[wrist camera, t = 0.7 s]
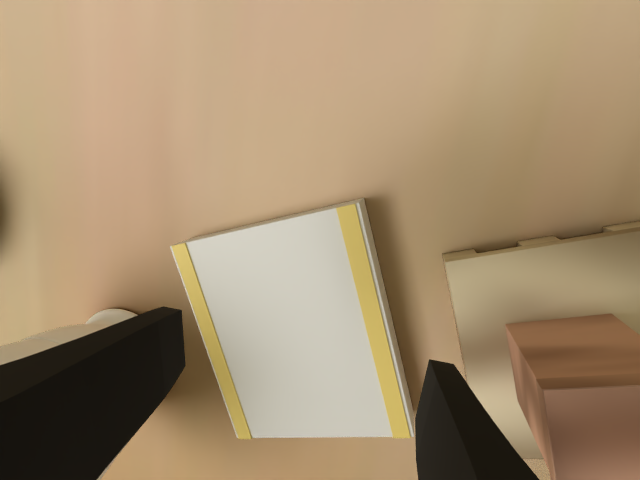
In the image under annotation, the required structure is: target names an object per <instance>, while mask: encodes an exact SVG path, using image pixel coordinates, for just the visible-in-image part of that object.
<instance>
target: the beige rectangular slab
mask: <svg viewBox="0 0 640 480" xmlns="http://www.w3.org/2000/svg"><path fill="white" fill-rule="evenodd" d="M517 245H518V247H513V248H507V249H501V250H495V251H489V252H483V253H476V252H475V250H474V249H469V250H463V251H457V252H451V253H445V254H442V256H443V261H444V266H445V271H446V276H447V281H448V287H449V292H450V297H451V302H452V307H453V312H454V317H455V323H456V328H457V333H458V338H459V343H460V348H461V354H462V359H463V364H464V369H465V374H466V379H467V384H468V385H469V387H470V388H471V390H472V391H473V393H474V394H475V396H476V397H477V398H478V400H479V401H480V403H481V404H482V406H483V407H484V408H485V410H486V411H487V413H488V414H489V415H490V417H491V418H492V420H493V421H494V422H495V424H496V425H497V426H498V428H499V429H500V430H501V432H502V433H503V434H504V436H505V437H506V438H507V440H508V441H509V442H510V444H511V445H512V446H513V448H514V449H515V450H516V452H517V453H518V454H519V455H520V457H521V458H522V459H544V458H543V456H542V454H541V452H540V449H539V447H538V445H537V443H536V441H535V438H534V436H533V434H532V432H531V429H530V427H529V425H528V423H527V420H526V418H525V416H524V414H523V412H522V409H521V407H520V405H519V403H518V400H517V394H516V388H515V382H514V376H513V370H512V364H511V358H510V352H509V346H508V340H507V333H506V327H505V324H511V323H521V322H531V321H541V320H551V319H561V318H571V317H581V316H590V315H600V314H610V313H612V314H613V315H614V316H616V317H617V318H618V319H619V320H621V321H622V322H623V323H625V324H626V325H627V326H629V327H630V328H631V329H632V330H634V331H635V332H636V333H638V334H639V335H640V221H635V222H629V223H623V224H617V225H611V226H606V227H603V233H598V234H592V235H586V236H580V237H574V238H568V239H562V240H560V239H558V238H556V237H555V236H553V235H552V236H546V237H540V238H534V239H528V240H522V241H517Z"/></svg>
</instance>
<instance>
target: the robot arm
mask: <svg viewBox="0 0 640 480" xmlns="http://www.w3.org/2000/svg"><path fill="white" fill-rule="evenodd" d="M184 367H185V353H184V339H183V325H182V310H178V309H173V308H168V307H161V308H157V309H154V310H151V311H148V312H145V313H143V314H140V315H137V316H135V317H132V318H129V319H127V320H124V321H122V322H119V323H116V324H114V325H111V326H109V327H106V328H103V329H101V330H98V331H96V332H93V333H91V334H88V335H85V336H83V337H80V338H78V339H75V340H72V341H69V342H66V343H64V344H61V345H58V346H55V347H52V348H50V349H47V350H44V351H41V352H38V353H36V354H33V355H30V356H27V357H24V358H21V359H18V360H15V361H12V362H9V363H5V364H2V365H0V480H97V479H98V478H99V476H100V475H101V474H102V473H103V471H104V470H105V469H106V468H107V467H108V465H109V464H110V463H111V462H112V461H113V459H114V458H115V457H116V456H117V455H118V453H119V452H120V451H121V450H122V449H123V448H124V446H125V445H126V444H127V443H128V442H129V440H130V439H131V438H132V437H133V436H134V434H135V433H136V432H137V431H138V430H139V428H140V427H141V426H142V425H143V424H144V422H145V421H146V420H147V419H148V418H149V416H150V415H151V414H152V413H153V412H154V410H155V409H156V408H157V407H158V406H159V404H160V403H161V402H162V401H163V399H164V398H165V397H166V395H167V394H168V392H169V391H170V389H171V388H172V386H173V385H174V383H175V382H176V380H177V379H178V377H179V375H180V374H181V372H182V371H183V369H184ZM415 430H416V463H417V472H418V480H539V479H538V477H537V476H536V475H535V474H534V473H533V471H532V470H531V469H530V468H529V466H528V465H527V464H526V463H525V462H524V460H523V459H522V458H521V457H520V455H519V454H518V453H517V452H516V450H515V449H514V448H513V446H512V445H511V444H510V442H509V441H508V440H507V438H506V437H505V436H504V434H503V433H502V432H501V430H500V429H499V428H498V426H497V425H496V424H495V422H494V421H493V420H492V418H491V417H490V415H489V414H488V413H487V411H486V410H485V408H484V407H483V406H482V404H481V403H480V401H479V400H478V398H477V397H476V396H475V394H474V393H473V391H472V390H471V388H470V387H469V385H468V384H467V383H466V381H465V380H464V378H463V377H462V375H461V374H460V372H459V371H458V370H457V368H456V367H455V365H454V364H450V363H445V362H440V361H435V360H430V359H429V363H428V367H427V371H426V376H425V380H424V384H423V388H422V393H421V397H420V401H419V405H418V410H417V414H416V418H415Z"/></svg>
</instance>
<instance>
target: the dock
mask: <svg viewBox="0 0 640 480" xmlns="http://www.w3.org/2000/svg"><path fill="white" fill-rule="evenodd" d="M170 248H171V251H172V254H173V257H174V260H175V262H176V265H177V268H178V271H179V274H180V277H181V279H182V282H183V285H184V288H185V291H186V294H187V297H188V299H189V302H190V305H191V308H192V311H193V314H194V317H195V319H196V322H197V325H198V328H199V331H200V334H201V336H202V339H203V342H204V345H205V348H206V351H207V354H208V356H209V359H210V362H211V365H212V368H213V371H214V374H215V376H216V379H217V382H218V385H219V388H220V391H221V394H222V396H223V399H224V402H225V405H226V408H227V411H228V413H229V416H230V419H231V422H232V425H233V428H234V431H235V433H236V436H237V438H239V439H252V438H294V437H393V438H411V437H414V412H413V407H412V403H411V398H410V394H409V390H408V386H407V381H406V377H405V373H404V368H403V364H402V360H401V355H400V351H399V347H398V342H397V338H396V334H395V330H394V325H393V321H392V317H391V312H390V308H389V304H388V299H387V295H386V291H385V286H384V282H383V278H382V273H381V269H380V265H379V261H378V256H377V252H376V248H375V243H374V239H373V235H372V230H371V226H370V222H369V217H368V213H367V209H366V205H365V200H364V198H361V199H357V200H353V201H348V202H344V203H340V204H336V205H331V206H327V207H323V208H319V209H314V210H310V211H306V212H301V213H297V214H293V215H289V216H284V217H280V218H276V219H272V220H267V221H263V222H259V223H255V224H250V225H246V226H242V227H237V228H233V229H229V230H225V231H220V232H216V233H212V234H208V235H203V236H199V237H195V238H190V239H188V240H185V241H182V242H180V243H177V244H175V245H172V246H170Z"/></svg>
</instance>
